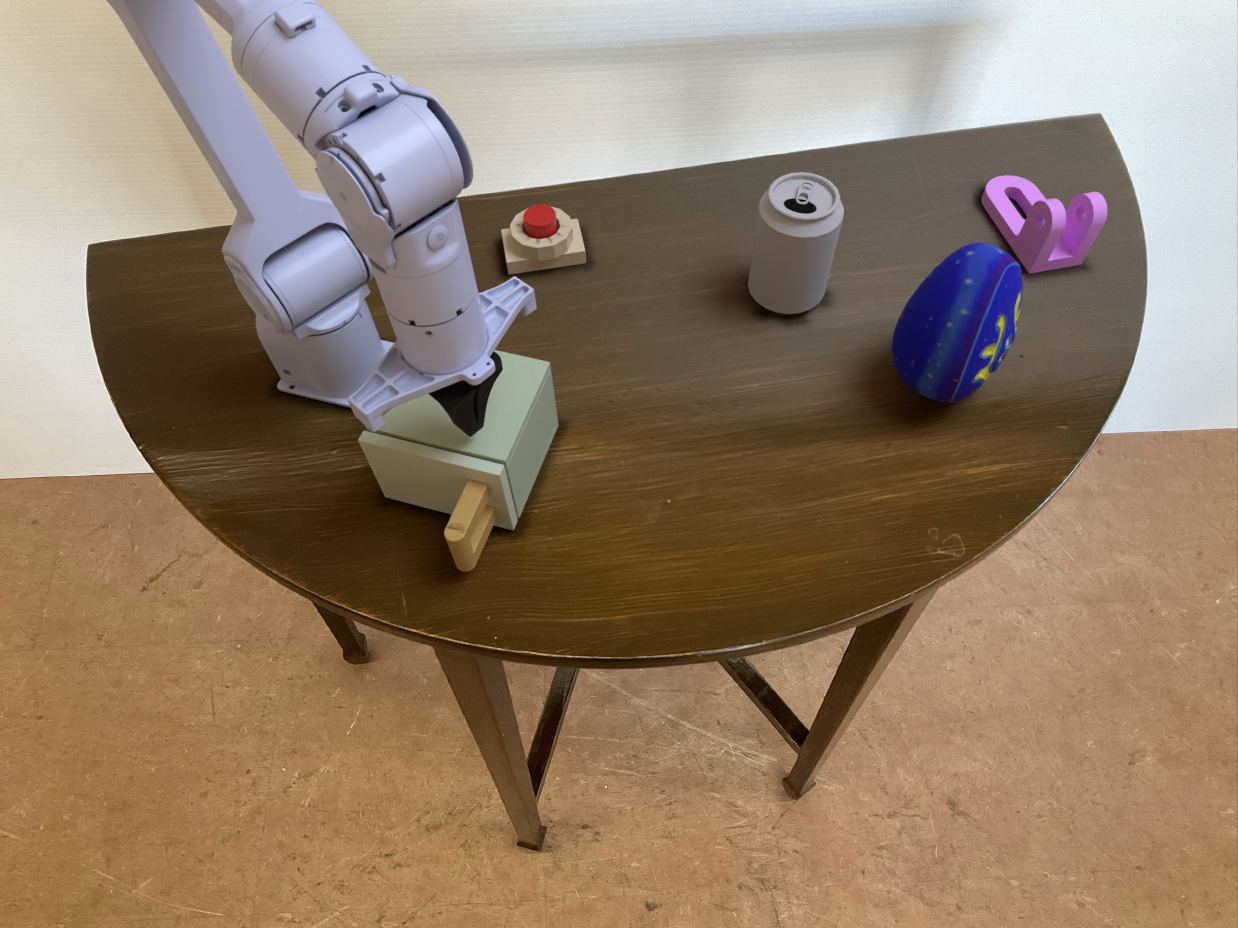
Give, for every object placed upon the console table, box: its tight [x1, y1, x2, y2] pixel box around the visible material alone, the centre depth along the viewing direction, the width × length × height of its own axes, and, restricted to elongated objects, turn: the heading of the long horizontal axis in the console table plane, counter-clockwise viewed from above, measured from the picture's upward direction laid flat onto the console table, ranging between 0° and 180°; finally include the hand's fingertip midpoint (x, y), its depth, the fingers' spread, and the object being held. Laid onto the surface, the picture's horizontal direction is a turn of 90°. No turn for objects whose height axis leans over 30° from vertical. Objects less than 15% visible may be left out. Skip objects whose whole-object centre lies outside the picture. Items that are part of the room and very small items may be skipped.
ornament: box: [891, 242, 1024, 404], centre depth 72 cm, size 11×9×15 cm
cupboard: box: [364, 349, 559, 519], centre depth 71 cm, size 10×12×9 cm
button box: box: [500, 206, 587, 276], centre depth 87 cm, size 8×6×4 cm
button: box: [523, 204, 557, 239], centre depth 85 cm, size 3×3×2 cm
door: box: [357, 430, 519, 573], centre depth 66 cm, size 6×12×8 cm, turn 73°
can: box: [747, 171, 845, 315], centre depth 79 cm, size 8×8×12 cm
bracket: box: [981, 174, 1108, 275], centre depth 86 cm, size 13×6×7 cm, turn 12°
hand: (468, 424), depth 64 cm, fingers closed
